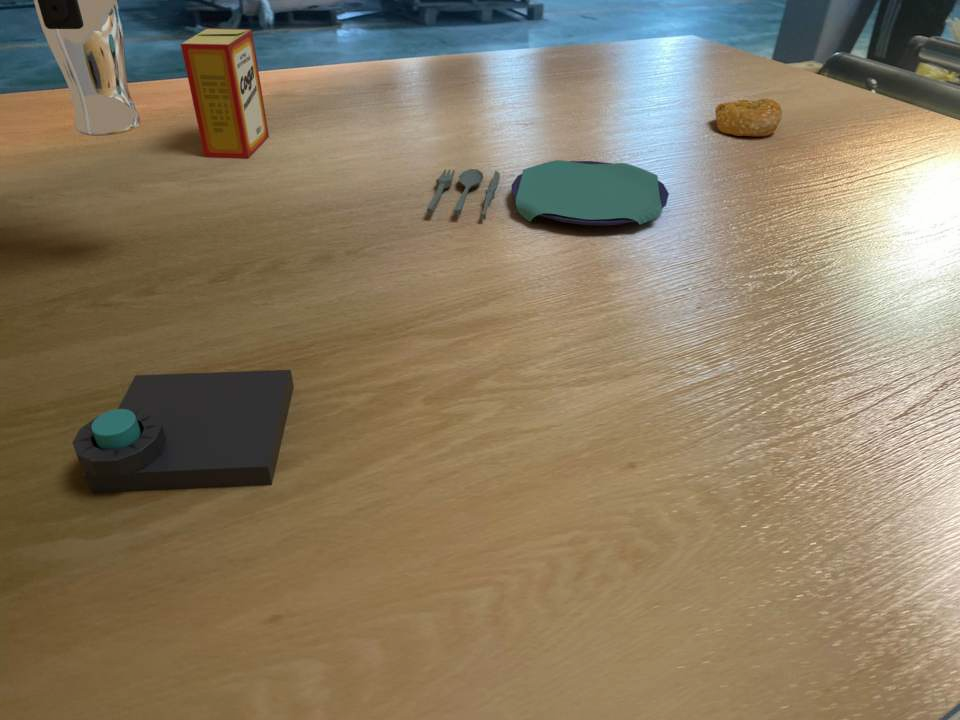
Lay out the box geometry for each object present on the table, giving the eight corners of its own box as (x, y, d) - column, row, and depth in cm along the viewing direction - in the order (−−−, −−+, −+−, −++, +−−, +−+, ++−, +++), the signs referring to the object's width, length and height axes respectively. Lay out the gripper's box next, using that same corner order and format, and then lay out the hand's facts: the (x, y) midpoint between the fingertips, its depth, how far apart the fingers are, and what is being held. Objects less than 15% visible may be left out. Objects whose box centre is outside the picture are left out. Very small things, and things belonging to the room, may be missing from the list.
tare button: (91, 452, 55) (84, 436, 54) (105, 425, 57) (99, 409, 56) (133, 450, 55) (128, 434, 54) (146, 423, 57) (140, 407, 56)
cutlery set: (672, 242, 89) (675, 224, 87) (419, 226, 92) (418, 209, 91) (662, 177, 105) (664, 161, 103) (447, 166, 108) (446, 150, 107)
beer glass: (90, 115, 80) (46, -46, 72) (156, 116, 80) (119, -44, 71) (58, 136, 74) (6, -35, 66) (129, 138, 74) (86, -34, 66)
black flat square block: (75, 498, 55) (60, 462, 53) (129, 393, 65) (118, 359, 63) (271, 489, 56) (263, 454, 54) (294, 386, 66) (288, 353, 64)
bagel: (750, 115, 127) (756, 86, 124) (792, 136, 118) (799, 105, 116) (698, 121, 124) (703, 92, 122) (737, 143, 116) (743, 112, 113)
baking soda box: (248, 158, 111) (227, 42, 101) (204, 156, 111) (179, 41, 102) (269, 136, 118) (251, 26, 109) (228, 135, 119) (207, 25, 110)
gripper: (16, -214, 68) (74, 2, 78) (-90, -226, 54) (-3, 40, 64) (102, -212, 69) (148, 2, 79) (20, -224, 54) (89, 40, 65)
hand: (80, 18), depth 71 cm, fingers closed on beer glass, 7 cm apart
